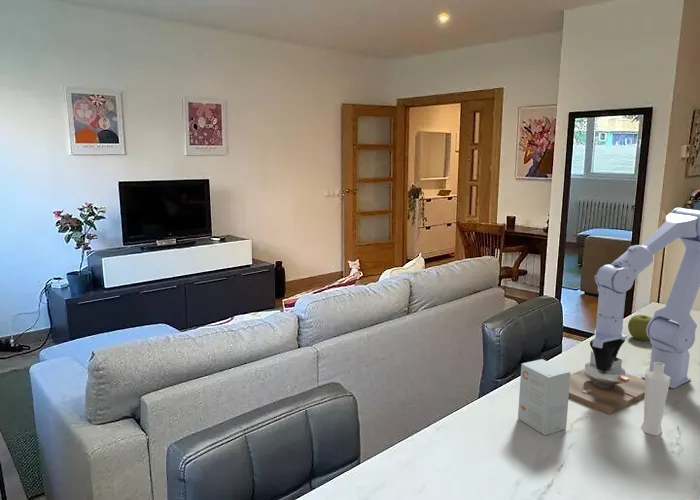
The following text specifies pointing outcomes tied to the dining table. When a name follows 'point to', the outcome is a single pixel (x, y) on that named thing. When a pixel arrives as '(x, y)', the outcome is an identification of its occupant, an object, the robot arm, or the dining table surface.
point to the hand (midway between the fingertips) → (604, 367)
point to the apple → (639, 327)
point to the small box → (544, 396)
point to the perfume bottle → (655, 398)
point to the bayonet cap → (611, 375)
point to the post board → (605, 392)
